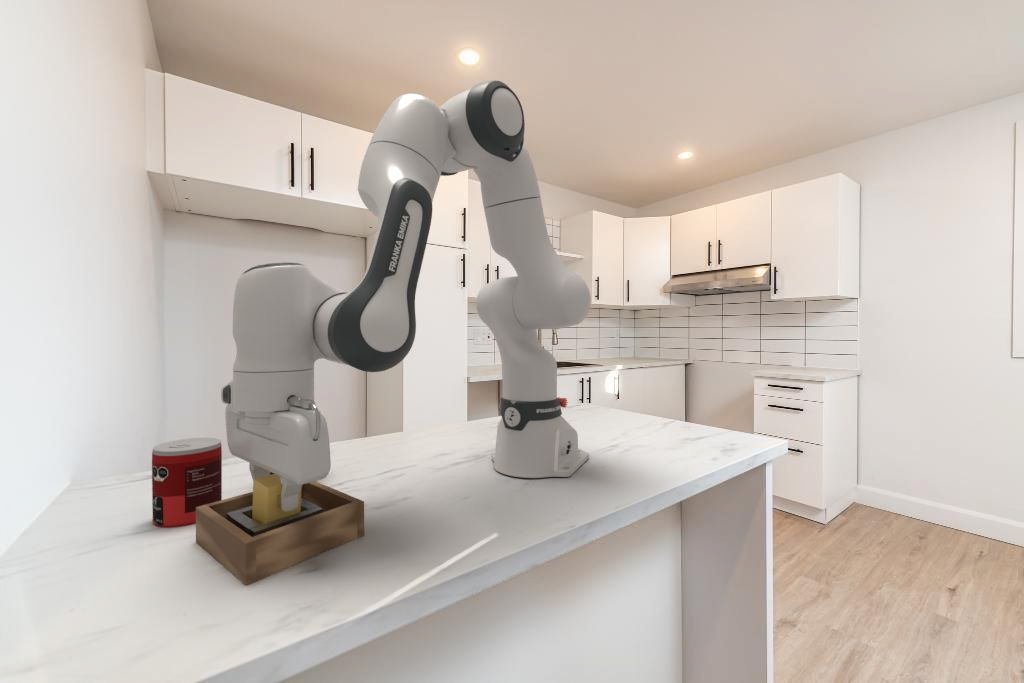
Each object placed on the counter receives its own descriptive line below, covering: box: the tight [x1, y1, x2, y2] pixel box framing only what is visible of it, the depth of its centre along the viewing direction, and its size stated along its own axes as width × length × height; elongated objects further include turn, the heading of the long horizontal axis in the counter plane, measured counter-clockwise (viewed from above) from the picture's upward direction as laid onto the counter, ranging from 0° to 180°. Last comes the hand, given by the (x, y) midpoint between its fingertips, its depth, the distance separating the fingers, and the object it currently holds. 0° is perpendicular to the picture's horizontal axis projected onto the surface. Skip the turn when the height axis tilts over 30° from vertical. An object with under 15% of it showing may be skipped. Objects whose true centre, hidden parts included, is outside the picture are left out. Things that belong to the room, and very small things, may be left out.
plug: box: [252, 474, 302, 525], centre depth 53 cm, size 4×4×8 cm
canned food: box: [151, 437, 223, 529], centre depth 60 cm, size 8×8×11 cm
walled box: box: [195, 481, 365, 587], centre depth 54 cm, size 14×15×5 cm
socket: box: [226, 498, 323, 537], centre depth 53 cm, size 8×8×4 cm
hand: (275, 502), depth 53 cm, fingers open, 5 cm apart
